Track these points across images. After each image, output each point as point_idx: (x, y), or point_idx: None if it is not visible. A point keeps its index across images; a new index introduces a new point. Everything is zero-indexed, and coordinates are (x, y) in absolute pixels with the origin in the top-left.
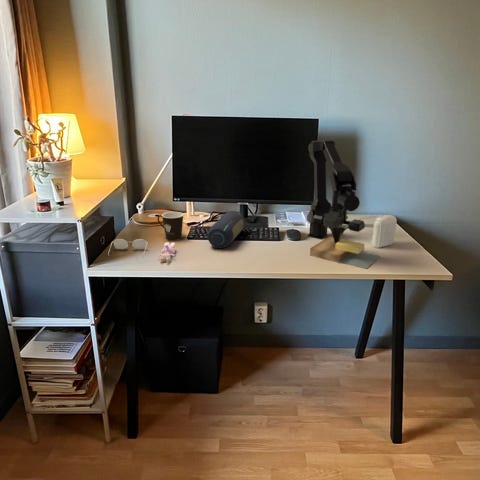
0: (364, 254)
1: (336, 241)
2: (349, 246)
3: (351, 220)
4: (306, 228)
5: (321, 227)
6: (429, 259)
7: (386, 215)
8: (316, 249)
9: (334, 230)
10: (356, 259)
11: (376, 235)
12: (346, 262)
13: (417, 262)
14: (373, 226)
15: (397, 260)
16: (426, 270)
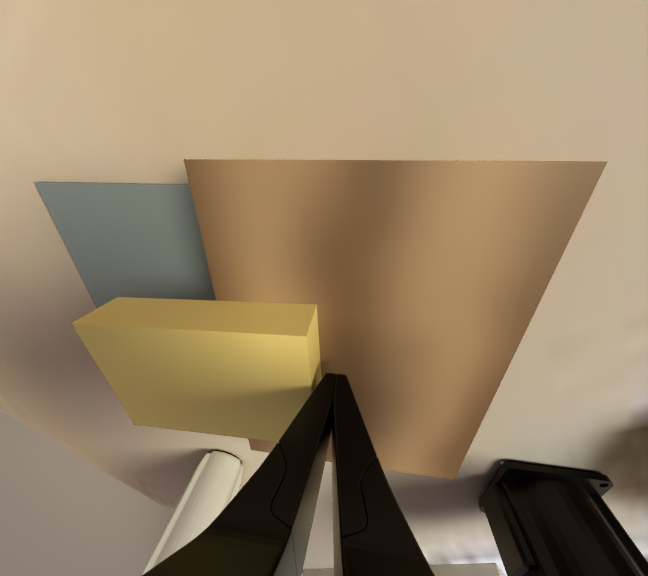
0: None
1: (327, 387)
2: (160, 332)
3: None
4: None
5: (553, 565)
6: (28, 424)
7: None
8: (503, 164)
9: (342, 566)
10: (178, 286)
11: (185, 527)
12: (184, 192)
13: (19, 388)
14: (331, 572)
15: (70, 375)
16: None
